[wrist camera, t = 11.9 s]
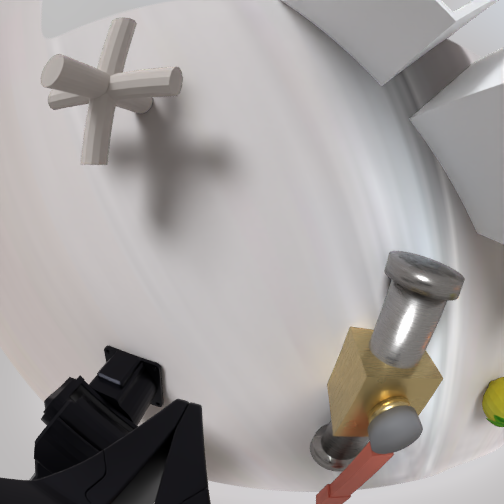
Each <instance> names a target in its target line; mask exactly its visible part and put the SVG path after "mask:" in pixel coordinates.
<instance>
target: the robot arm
mask: <svg viewBox="0 0 504 504" xmlns="http://www.w3.org/2000/svg"><path fill="white" fill-rule="evenodd" d="M104 352H105V357H106V364H105V365H104V366H103V367H102V368H101V369H100V370H99V372H98V373H97V376H96V377H95V378H94V379H93V380H92V381H91V383H90V384H89V385H88V384H87V383H86V382H85V381H84V379H83V378H82V377H81V376H79V377H78V378H77V379H73V378H71V377H69V378H68V379H67V380H66V381H65V383H64V384H63V385H62V386H61V387H59V388H58V389H57V390H56V391H55V392H54V393H52V394H51V395H50V396H49V397H48V398H47V399H46V400H45V401H44V403H45V411H44V415H43V417H42V418H41V420H42V421H43V422H44V423H45V424H46V425H47V426H46V428H45V429H44V430H43V431H42V433H41V434H40V435H39V436H38V438H37V439H36V441H35V449H34V459H35V473H34V475H33V476H32V477H31V479H30V480H15V479H7V478H0V504H210V497H209V490H208V480H207V471H206V460H205V448H204V435H203V421H202V406H201V405H199V404H195V403H189V402H188V401H185V400H181V399H176V400H175V401H173V402H172V403H171V404H169V405H168V406H167V407H165V408H164V409H163V410H161V411H160V412H158V413H157V414H156V415H154V416H153V417H151V418H150V419H149V420H147V421H146V422H144V423H143V424H142V425H140V426H139V427H138V426H137V425H138V424H139V422H140V420H141V419H142V417H143V415H144V413H145V412H146V410H147V408H148V407H149V405H150V404H152V405H155V406H158V407H161V406H162V405H163V392H162V378H161V366H160V365H159V364H158V363H156V362H153V361H150V360H147V359H144V358H141V357H138V356H135V355H132V354H129V353H127V352H124V351H121V350H119V349H116V348H113V347H111V346H106V347H105V348H104ZM155 367H156V368H155ZM154 502H155V503H154Z"/></svg>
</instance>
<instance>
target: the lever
mask: <svg viewBox="0 0 504 504" xmlns="http://www.w3.org/2000/svg"><path fill="white" fill-rule="evenodd" d="M422 430H423V428H422V425H421V422H420V420H419V417H418V415H417V412H416V410H415V409H414V408H413V407H411V406H406V405H404V406H397V407H394V408H391V409H388V410H386V411H384V412H382V413H381V414H379V415H378V416H376V417H375V418H374V419H373V420H372V421H371V422H370V424H369V426H368V435H369V439H370V441H369V442H368V444H367V445H366V446H365V447H364V448H363V450H362V451H361V452H360V453H359V454H358V455H357V457H356V458H355V459H354V460H353V461H352V462H351V463H350V464H349V466H348V467H347V468H346V469H345V470H344V471H343V472H342V473H341V474H340V475H339V476H338V477H337V478H336V479H335V480H334V481H333V482H332V483H331V484H327V485H326V486H325V487H324V488H323V489H322V490H321V491H320V492H319V493H318V494H317V495H316V504H343V503H344V502H345V501H346V500H348V499H349V498H350V497H351V494H352V493H353V492H354V491H356V490H357V489H358V488H359V487H360V486H362V485H363V484H364V483H365V482H366V481H367V480H368V479H369V478H370V477H372V476H373V475H374V474H375V473H376V472H377V471H378V470H379V469H380V468H381V467H382V466H383V465H384V464H385V463H386V462H387V461H388V460H389V459H390V458H391V457H392V456H393V455H394V454H393V452H396V451H399V450H401V449H404V448H405V447H407V446H409V445H410V444H412V443H413V442H414V441H416V440H417V439H418V437H419V436H420V435H421V433H422Z"/></svg>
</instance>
